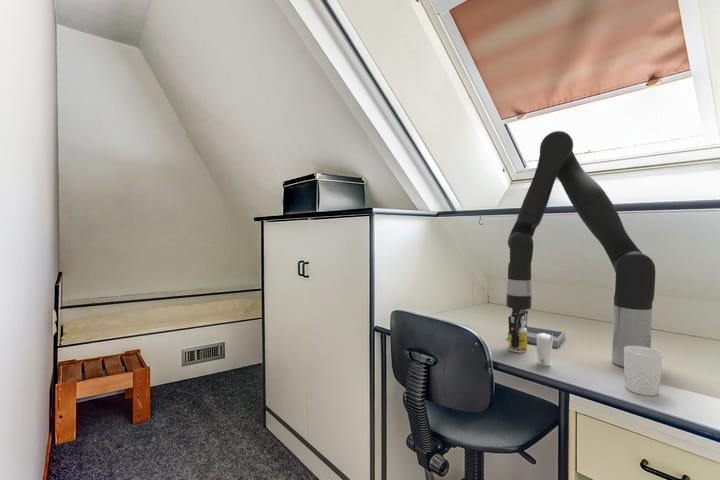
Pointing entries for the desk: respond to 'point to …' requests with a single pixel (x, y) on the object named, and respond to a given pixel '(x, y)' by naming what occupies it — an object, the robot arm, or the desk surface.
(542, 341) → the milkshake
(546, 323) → the desk surface
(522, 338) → the supplement bottle
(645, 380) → the white cup
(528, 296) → the robot arm
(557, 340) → the tray
